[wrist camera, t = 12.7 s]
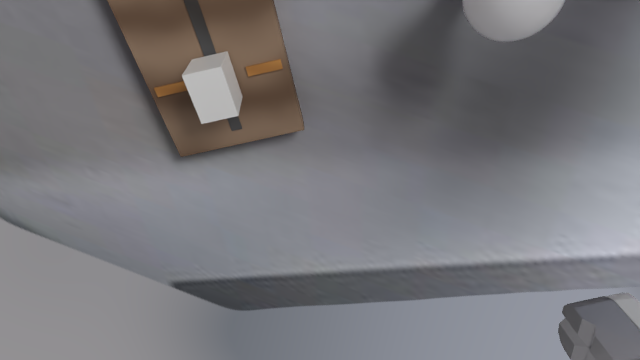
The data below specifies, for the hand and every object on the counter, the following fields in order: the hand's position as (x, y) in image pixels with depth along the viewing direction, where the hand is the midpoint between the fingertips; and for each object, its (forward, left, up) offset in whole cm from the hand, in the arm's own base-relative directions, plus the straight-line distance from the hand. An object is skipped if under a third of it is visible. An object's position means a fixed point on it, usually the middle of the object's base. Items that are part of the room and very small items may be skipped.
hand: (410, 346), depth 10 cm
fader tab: (+9, 0, -27) cm, 28 cm away
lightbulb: (-13, -3, -29) cm, 32 cm away
